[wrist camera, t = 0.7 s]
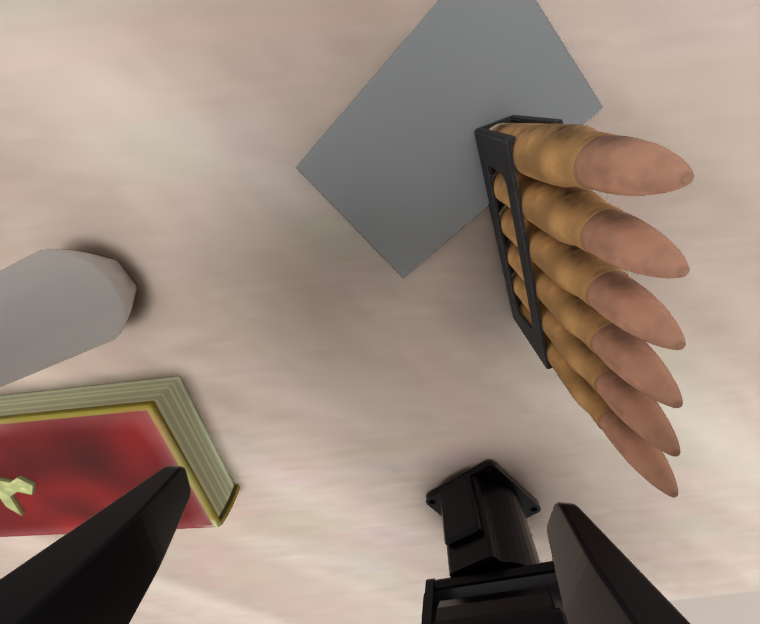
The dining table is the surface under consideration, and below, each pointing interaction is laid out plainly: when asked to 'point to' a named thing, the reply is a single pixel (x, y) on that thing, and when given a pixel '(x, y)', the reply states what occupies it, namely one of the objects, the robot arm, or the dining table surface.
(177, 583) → the dining table surface
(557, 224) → the ammunition clip
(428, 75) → the mat
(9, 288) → the salt shaker
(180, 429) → the hardcover book
